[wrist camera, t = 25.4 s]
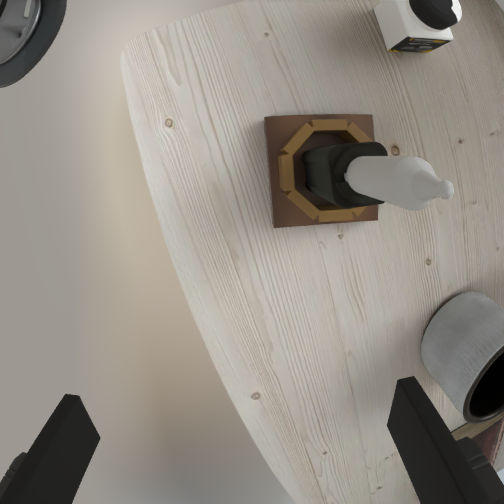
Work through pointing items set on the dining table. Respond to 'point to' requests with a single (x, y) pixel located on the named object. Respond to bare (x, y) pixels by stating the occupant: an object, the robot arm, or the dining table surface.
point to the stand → (293, 171)
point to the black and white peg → (371, 177)
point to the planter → (468, 355)
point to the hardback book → (484, 435)
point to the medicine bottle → (416, 23)
